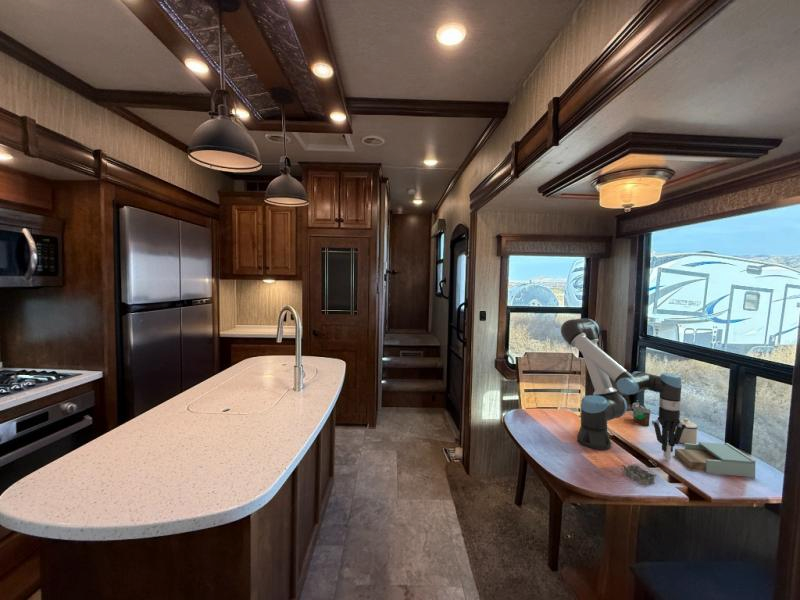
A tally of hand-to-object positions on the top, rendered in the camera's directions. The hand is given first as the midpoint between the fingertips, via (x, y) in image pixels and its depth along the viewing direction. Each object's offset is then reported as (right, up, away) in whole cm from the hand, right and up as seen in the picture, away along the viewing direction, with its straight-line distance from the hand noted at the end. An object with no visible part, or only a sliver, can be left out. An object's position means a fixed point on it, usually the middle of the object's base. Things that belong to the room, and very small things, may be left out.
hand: (666, 458), depth 156 cm
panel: (+14, -1, -4) cm, 15 cm away
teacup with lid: (+24, 0, +20) cm, 31 cm away
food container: (+16, +1, +42) cm, 45 cm away
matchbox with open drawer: (+18, -1, -5) cm, 19 cm away
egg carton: (-23, -2, -14) cm, 27 cm away
